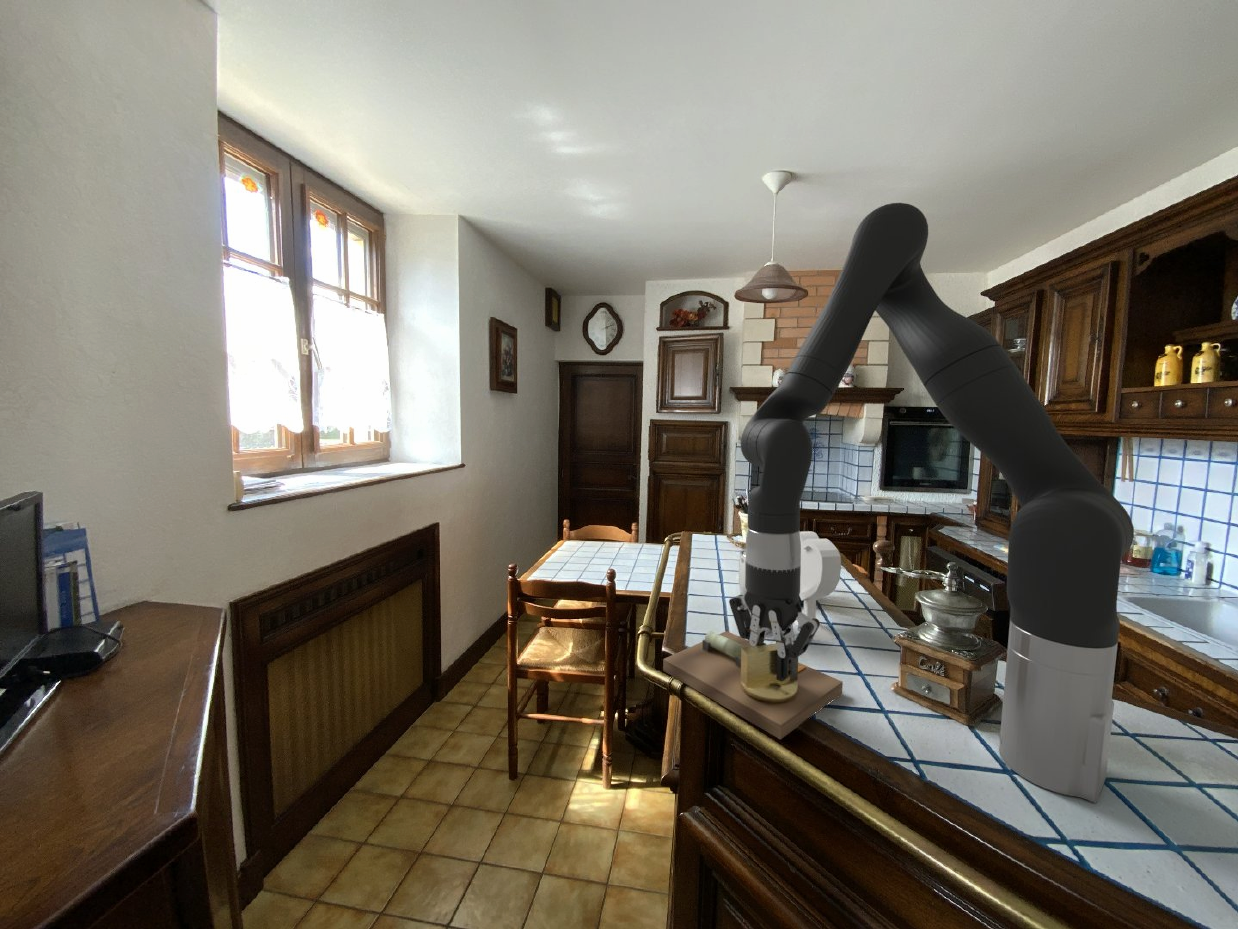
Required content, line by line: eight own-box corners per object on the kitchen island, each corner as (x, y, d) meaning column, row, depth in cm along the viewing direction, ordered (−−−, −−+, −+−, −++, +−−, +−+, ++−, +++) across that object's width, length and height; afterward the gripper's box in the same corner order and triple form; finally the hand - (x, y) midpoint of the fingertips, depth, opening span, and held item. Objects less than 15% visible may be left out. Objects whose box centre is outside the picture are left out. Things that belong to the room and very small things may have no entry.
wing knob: (779, 669, 77) (780, 632, 76) (809, 698, 69) (811, 657, 69) (731, 675, 75) (731, 638, 75) (757, 706, 67) (757, 665, 67)
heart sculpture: (780, 609, 105) (783, 526, 103) (803, 608, 105) (806, 526, 103) (815, 644, 90) (818, 547, 88) (842, 642, 90) (846, 546, 88)
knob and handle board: (842, 694, 74) (843, 664, 73) (780, 739, 64) (781, 705, 64) (726, 641, 91) (726, 616, 91) (663, 670, 81) (663, 643, 81)
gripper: (833, 564, 67) (830, 683, 69) (745, 544, 78) (744, 648, 80) (806, 578, 62) (803, 705, 64) (716, 554, 73) (716, 664, 75)
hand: (770, 673), depth 72 cm, fingers closed on wing knob, 3 cm apart
